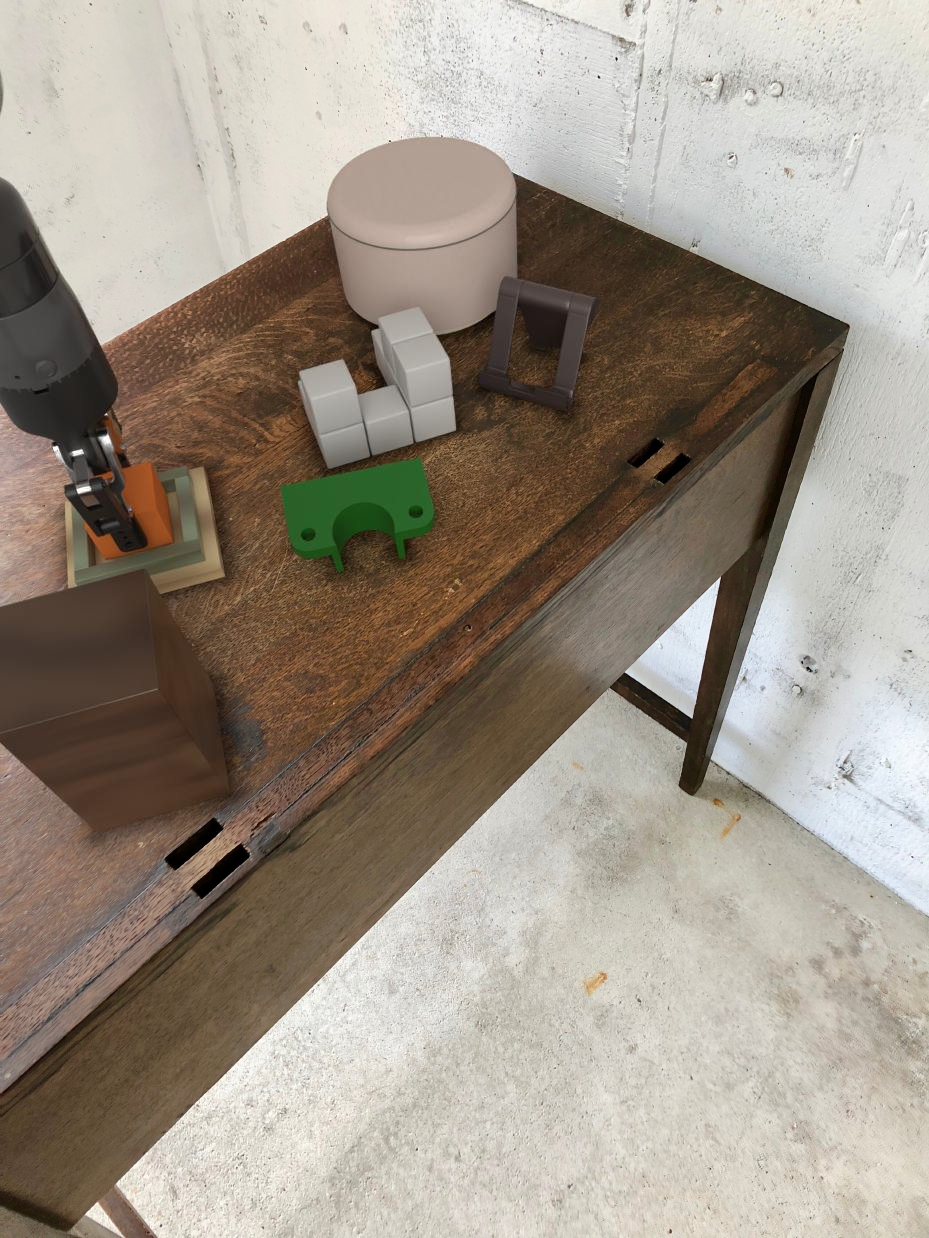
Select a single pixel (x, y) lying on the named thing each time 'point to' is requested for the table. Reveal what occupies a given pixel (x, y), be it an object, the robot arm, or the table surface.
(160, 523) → the orange square block
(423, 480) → the clamp
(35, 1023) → the table surface
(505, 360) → the tablet stand
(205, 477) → the square tray
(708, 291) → the table surface
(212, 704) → the stand
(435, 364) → the gray cube puzzle piece
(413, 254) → the container
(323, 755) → the table surface
